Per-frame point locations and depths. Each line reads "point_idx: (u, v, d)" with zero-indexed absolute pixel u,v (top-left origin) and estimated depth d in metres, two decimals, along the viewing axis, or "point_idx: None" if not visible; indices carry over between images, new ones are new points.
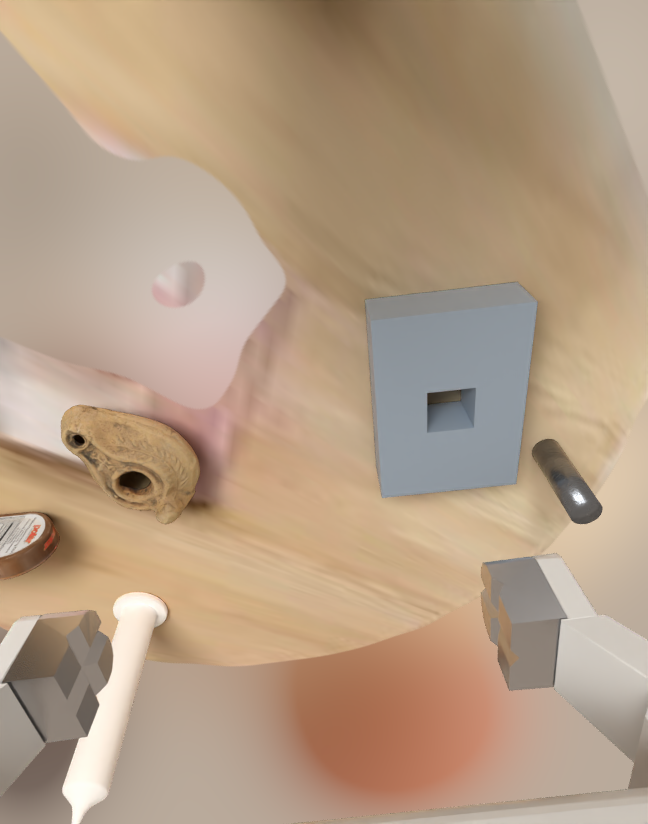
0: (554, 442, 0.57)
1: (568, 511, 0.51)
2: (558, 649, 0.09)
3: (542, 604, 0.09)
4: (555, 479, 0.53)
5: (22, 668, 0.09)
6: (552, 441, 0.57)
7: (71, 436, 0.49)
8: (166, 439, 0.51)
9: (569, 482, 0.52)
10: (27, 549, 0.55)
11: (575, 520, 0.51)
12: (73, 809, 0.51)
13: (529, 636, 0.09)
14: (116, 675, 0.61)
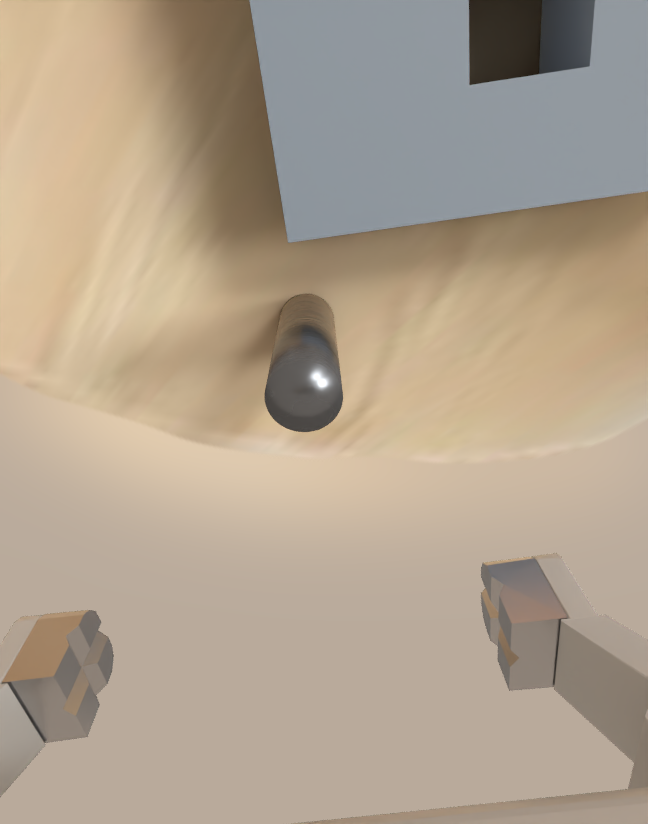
0: None
1: (295, 357, 0.20)
2: (558, 649, 0.09)
3: (542, 604, 0.09)
4: (318, 329, 0.23)
5: (22, 668, 0.09)
6: None
7: None
8: None
9: (334, 352, 0.22)
10: None
11: (276, 379, 0.20)
12: None
13: (529, 636, 0.09)
14: None
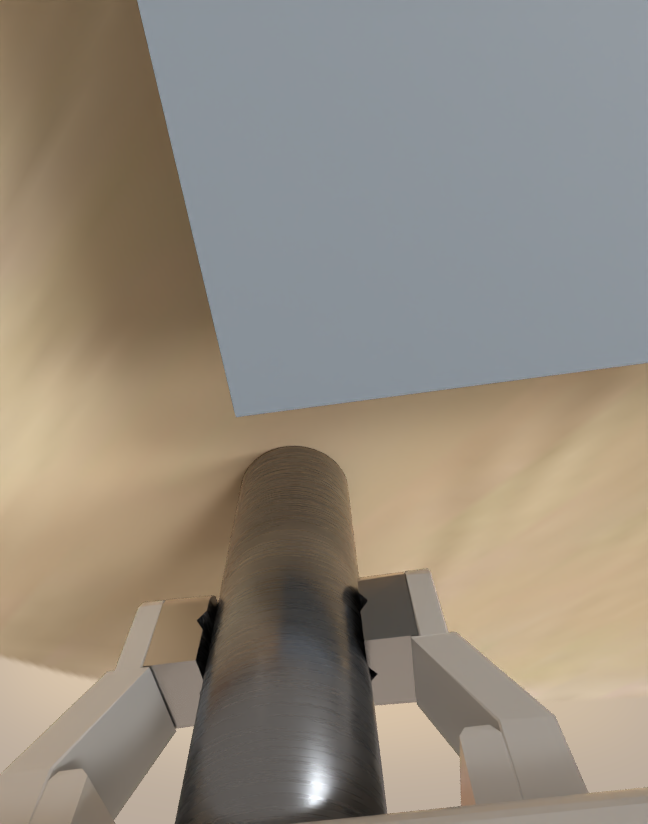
0: None
1: None
2: (414, 665, 0.09)
3: (398, 621, 0.09)
4: (319, 622, 0.09)
5: (160, 652, 0.09)
6: None
7: None
8: None
9: (367, 717, 0.08)
10: None
11: None
12: None
13: (383, 652, 0.09)
14: None
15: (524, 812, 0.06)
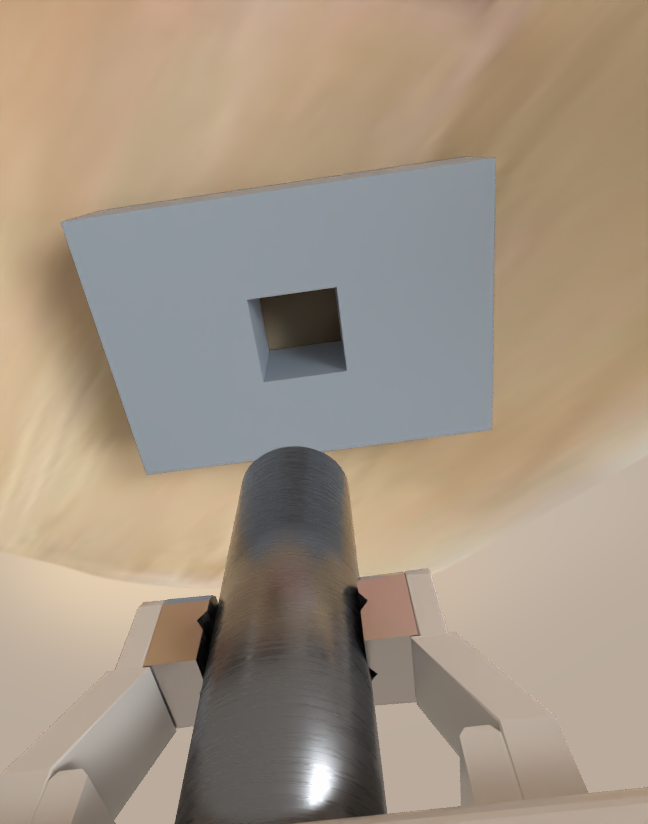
0: None
1: None
2: (414, 665, 0.09)
3: (398, 621, 0.09)
4: (319, 623, 0.09)
5: (161, 652, 0.09)
6: None
7: None
8: None
9: (367, 717, 0.08)
10: None
11: None
12: None
13: (383, 653, 0.09)
14: None
15: (524, 812, 0.06)
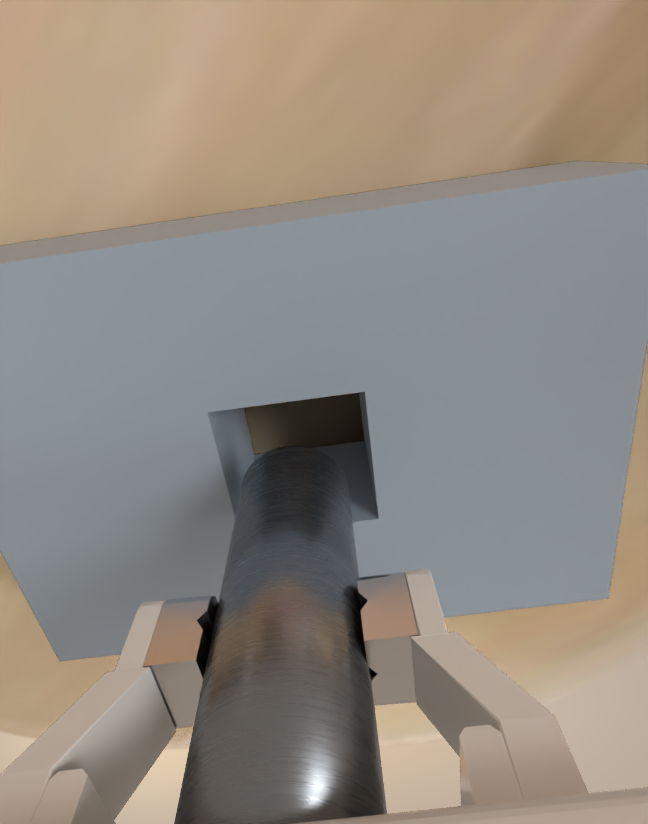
0: None
1: None
2: (414, 665, 0.09)
3: (398, 621, 0.09)
4: (319, 623, 0.09)
5: (161, 652, 0.09)
6: None
7: None
8: None
9: (367, 718, 0.08)
10: None
11: None
12: None
13: (383, 653, 0.09)
14: None
15: (524, 812, 0.06)
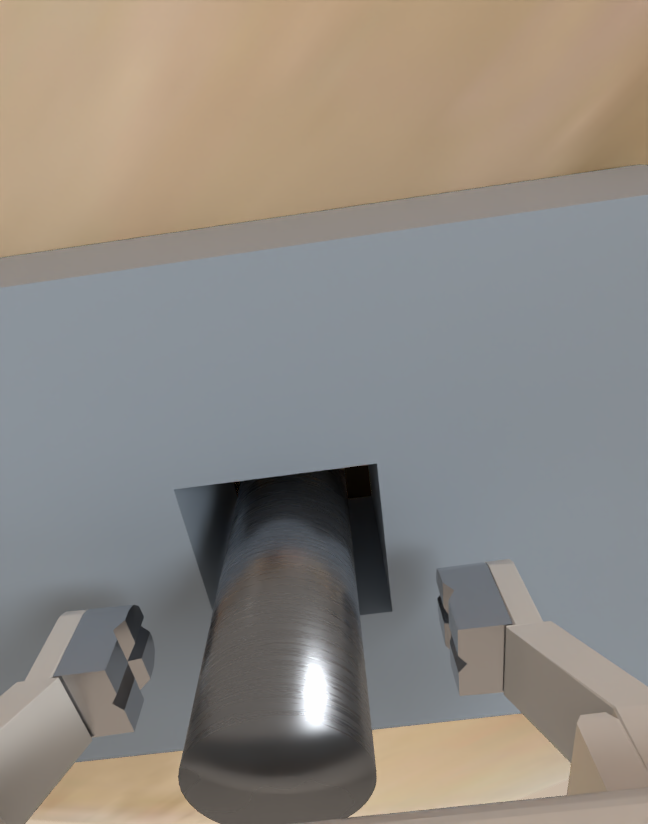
0: None
1: (256, 690, 0.08)
2: (504, 654, 0.09)
3: (489, 610, 0.09)
4: (314, 529, 0.11)
5: (73, 662, 0.09)
6: None
7: None
8: None
9: (350, 595, 0.10)
10: None
11: (205, 753, 0.08)
12: None
13: (475, 642, 0.09)
14: None
15: (524, 812, 0.06)
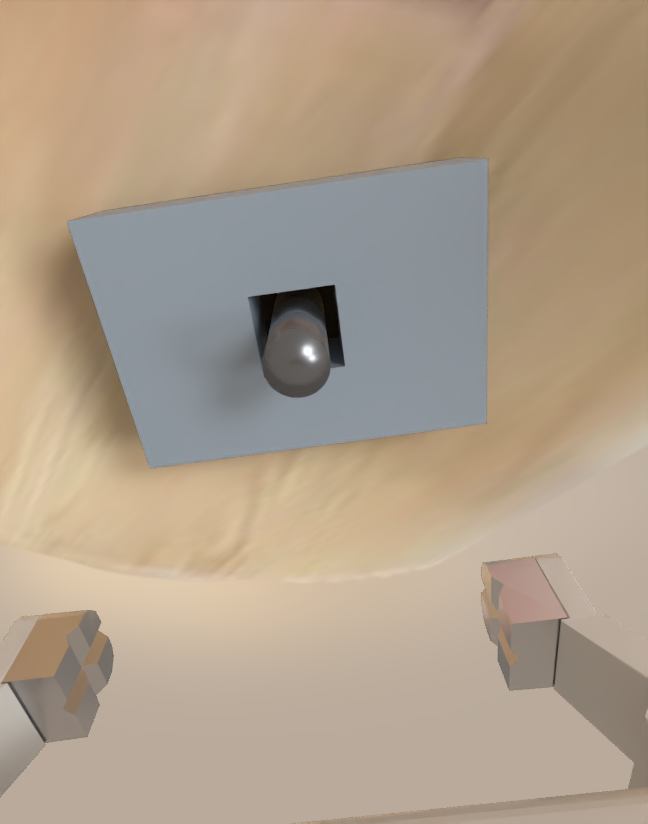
0: None
1: (289, 332, 0.23)
2: (558, 649, 0.09)
3: (542, 604, 0.09)
4: (309, 310, 0.26)
5: (22, 668, 0.09)
6: None
7: None
8: None
9: (323, 329, 0.26)
10: None
11: (272, 350, 0.23)
12: None
13: (529, 636, 0.09)
14: None
15: (524, 812, 0.06)
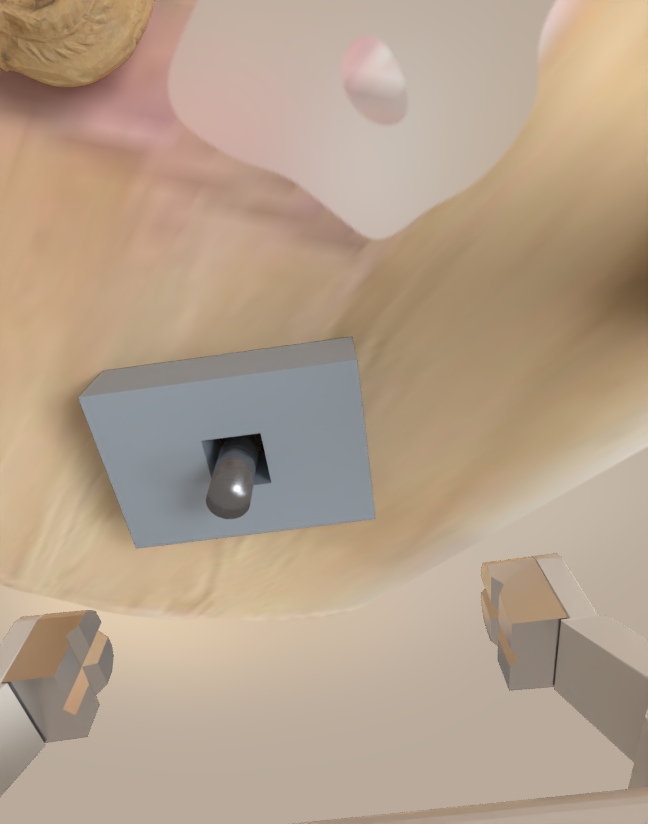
0: None
1: (222, 479, 0.35)
2: (558, 649, 0.09)
3: (542, 604, 0.09)
4: (242, 451, 0.39)
5: (22, 669, 0.09)
6: None
7: None
8: (126, 28, 0.28)
9: (250, 468, 0.38)
10: None
11: (211, 492, 0.35)
12: None
13: (529, 636, 0.09)
14: None
15: (524, 812, 0.06)
